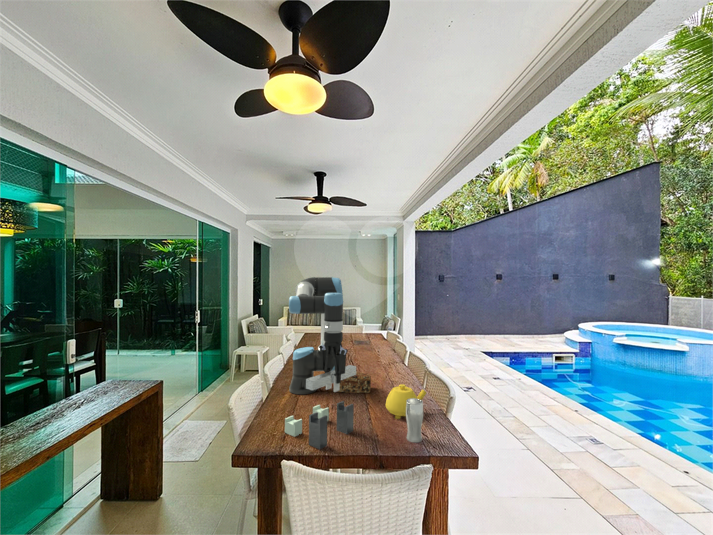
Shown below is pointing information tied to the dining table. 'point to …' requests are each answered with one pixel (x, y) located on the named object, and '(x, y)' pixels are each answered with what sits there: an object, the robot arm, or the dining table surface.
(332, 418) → the dining table surface
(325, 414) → the rest
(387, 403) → the teapot
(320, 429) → the post
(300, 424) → the rest
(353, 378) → the bread
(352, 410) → the post
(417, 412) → the beer glass
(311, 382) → the rail
